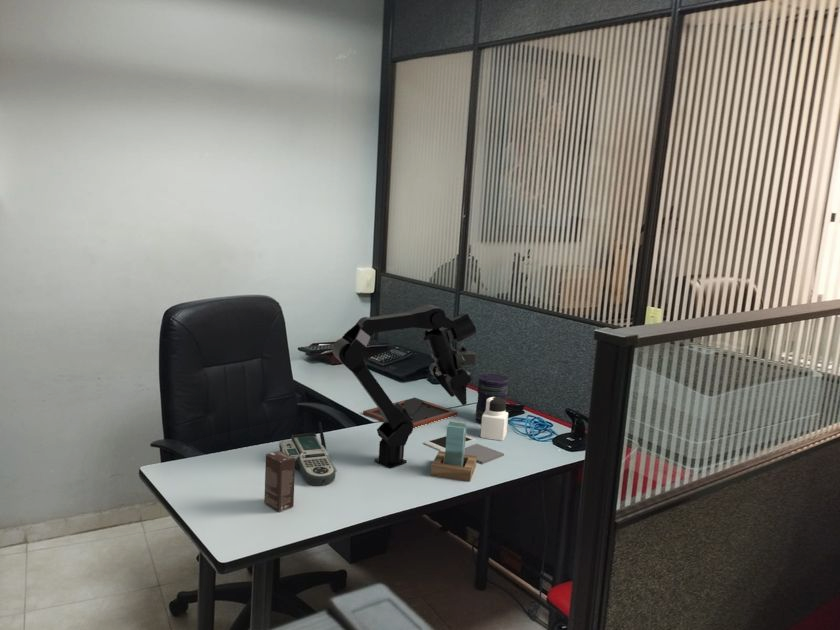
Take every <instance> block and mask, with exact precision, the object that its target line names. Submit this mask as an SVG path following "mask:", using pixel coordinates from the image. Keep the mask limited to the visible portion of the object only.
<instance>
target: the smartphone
mask: <svg viewBox="0 0 840 630" xmlns="http://www.w3.org/2000/svg"><path fill="white" fill-rule="evenodd" d="M474 440H475V441H476V438H474V437H473V436H470V435H467V434H466V440H465V444H467V442H469V443H471V442H470V441H472V442H474ZM423 444H424V445H425V444H426V445H425V446H427V445H429V446H428V447H430V446H431V447H430V448H432V447H433V449H434V448H436V449H435V450H437V449H438V450H437V451H439V450H443V451H445V450H444V449H446V435H445V436H441V437H437V438H434V439H431V440H426V441H423Z"/></svg>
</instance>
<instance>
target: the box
mask: <svg viewBox="0 0 840 630" xmlns="http://www.w3.org/2000/svg"><path fill="white" fill-rule="evenodd" d="M295 470H296V466H295V458H294V457H292V456H290V455H288V454H286V453H283V452H281V451H280V450H278V451H274V452H270V453H266V454H265V470H264V471H265V474H264V499H263V500H264V501H263V502H264V504H265V505H267V506H268V507H270V508H272V510H273V509H274V510H275V511H277V512H279V513H280V512H284V511H287V510H289V509H292V508H293V507H294V498H295V475H296V474H295V472H296V471H295Z"/></svg>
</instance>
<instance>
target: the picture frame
mask: <svg viewBox="0 0 840 630" xmlns="http://www.w3.org/2000/svg"><path fill="white" fill-rule="evenodd" d="M397 402H398V403H399V404H400V405H401V406H403V407H404V408H405V409H406V411H407V413H408V415H409V416H410V417H411V418H413V420H411V421H412V423H413V425H414V427H413V428H414V429H416V428H415V427H417V428H419V427H418V426H421V425H424V426H426V425H425V424H427V425H430V424H432V423H431V422H433V423H435V422H434V421H437V422H439V421H438V420H440V421H442V420H441V419H443V420H446V419H449V418H448V417H450V418H452V416H453V417H455V415H456V416H458V414H459V412H458V411H457V410H453V409H451V408H448V407H444V406H442V405H440V404H435V403H432V402H429V401H428V400H427V401H426V400H423V399H421V398H417V397H412V398H407V399H404V400H401V401H396V402H392V403H393V404H394V405H395V404H396V403H397ZM363 414H365V415H364V416H366V415H367V416H366V417H369V418H371V417H373V418H372V419H374V418H375V420H377V419H378V420H377V421H379V420H380V422H382V421H383V422H382V423H384V420H383V418H382V415H381V412H380V410H379V408H378V407H377V406H376V407H374V408H370V409H366V410H363V411H362V415H363ZM445 418H446V419H445ZM429 423H430V424H429ZM421 427H422V426H421Z"/></svg>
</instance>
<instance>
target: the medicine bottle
mask: <svg viewBox="0 0 840 630" xmlns="http://www.w3.org/2000/svg"><path fill="white" fill-rule="evenodd" d="M505 410H507V400H506V401H505V400H504V399H502V398H500V397H490V398H488V399H487V401H486V410H485V412H484V414H483V415H482V423H481V424H480V438H481V437H482V438H481V439H488V440H489V439H490V440H494V441H495V440H496V441H501V442H502V441H504V440H505V437H506V436H507V430H508V420H509V412H507V411H506V412H505Z"/></svg>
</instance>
